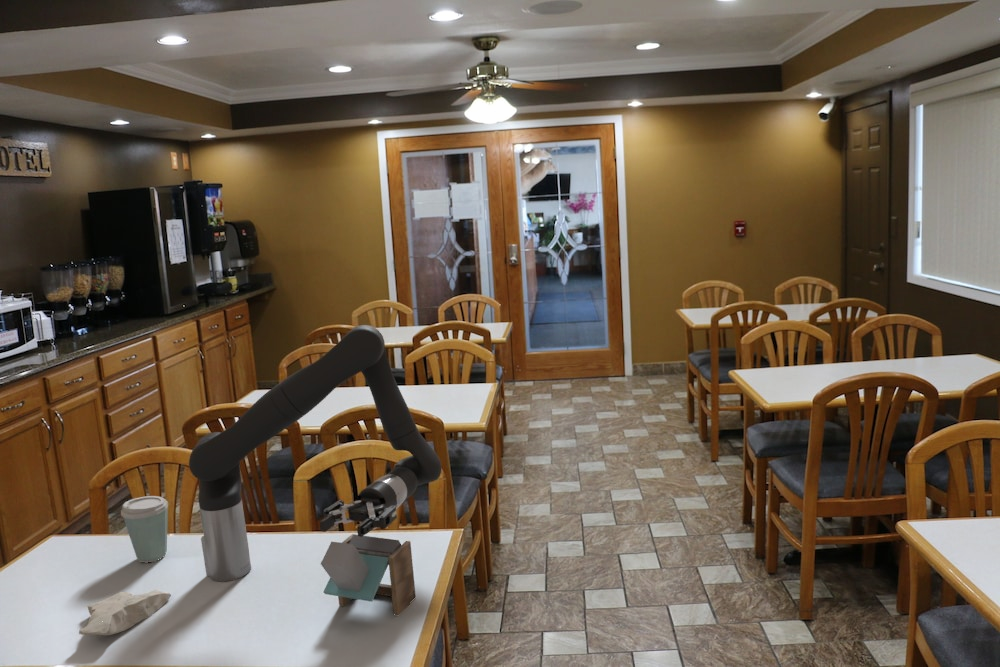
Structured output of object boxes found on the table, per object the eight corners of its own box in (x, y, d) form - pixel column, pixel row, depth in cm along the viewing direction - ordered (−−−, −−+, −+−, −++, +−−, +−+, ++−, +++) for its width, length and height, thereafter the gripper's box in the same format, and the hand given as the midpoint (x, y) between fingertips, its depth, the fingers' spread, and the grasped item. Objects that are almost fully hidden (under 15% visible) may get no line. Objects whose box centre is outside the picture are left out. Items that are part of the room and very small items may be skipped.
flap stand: (358, 588, 173) (352, 534, 171) (415, 597, 168) (410, 541, 165) (339, 606, 167) (332, 549, 164) (398, 616, 161) (392, 557, 159)
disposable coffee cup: (160, 544, 203) (151, 489, 200) (185, 553, 196) (176, 496, 194) (120, 561, 194) (111, 504, 191) (145, 572, 188) (135, 513, 185)
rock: (48, 646, 160) (103, 650, 154) (43, 624, 159) (99, 627, 154) (130, 599, 180) (182, 601, 174) (126, 580, 179) (178, 581, 174)
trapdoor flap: (362, 548, 172) (352, 532, 168) (406, 554, 167) (397, 538, 164) (334, 607, 162) (323, 591, 158) (381, 614, 158) (370, 599, 154)
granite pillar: (338, 588, 158) (320, 563, 152) (348, 566, 161) (331, 541, 156) (360, 591, 156) (342, 566, 151) (369, 569, 160) (353, 544, 154)
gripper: (352, 477, 171) (307, 508, 156) (410, 483, 165) (369, 515, 151) (355, 510, 172) (311, 543, 157) (413, 516, 167) (373, 551, 152)
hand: (340, 529), depth 154 cm, fingers open, 8 cm apart
